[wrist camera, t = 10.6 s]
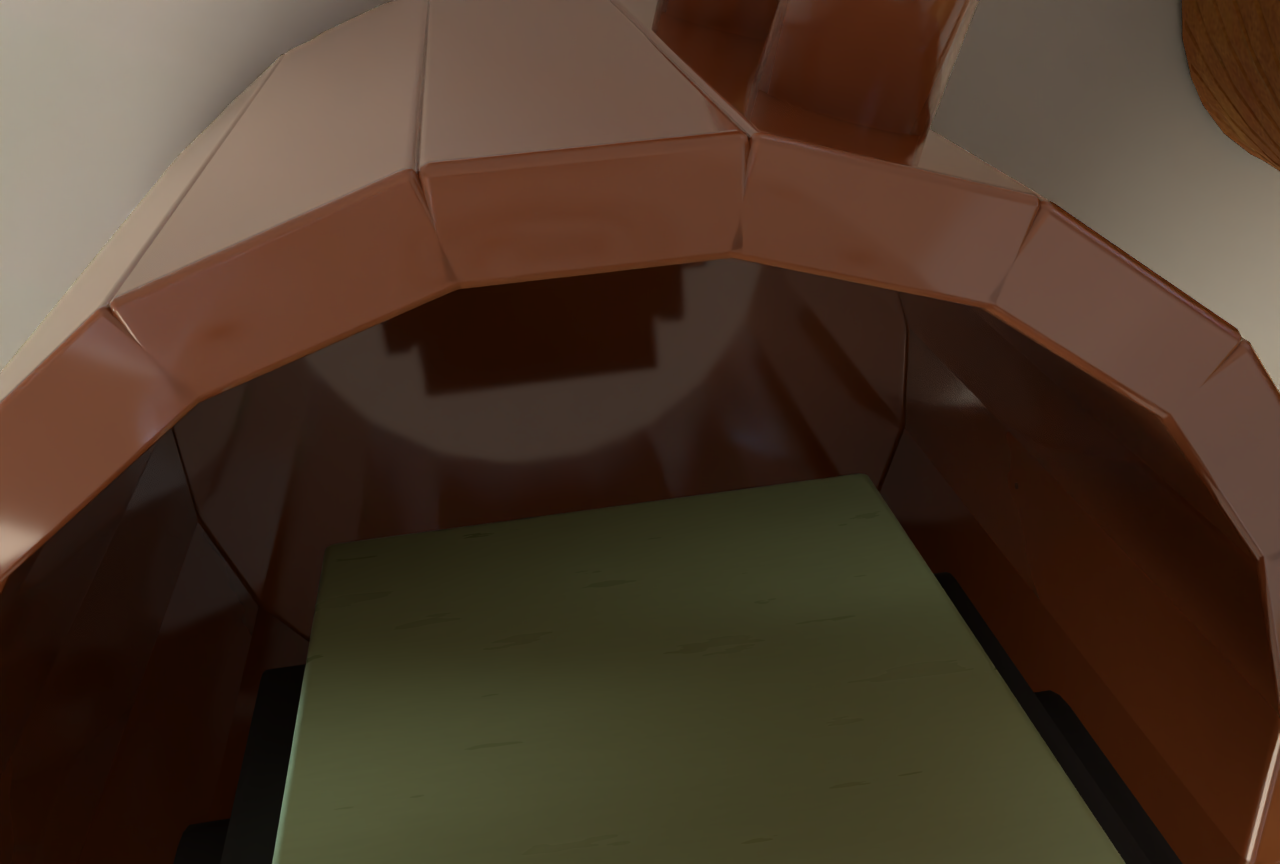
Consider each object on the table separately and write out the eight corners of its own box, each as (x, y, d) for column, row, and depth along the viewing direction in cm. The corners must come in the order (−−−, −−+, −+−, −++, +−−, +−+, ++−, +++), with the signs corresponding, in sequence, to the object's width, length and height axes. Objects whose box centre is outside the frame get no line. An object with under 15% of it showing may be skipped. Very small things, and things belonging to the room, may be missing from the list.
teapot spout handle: (471, 987, 21) (482, 1396, 15) (359, 980, 20) (328, 1400, 15) (887, -313, 12) (1234, -428, 7) (714, -380, 12) (942, -559, 7)
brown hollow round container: (232, 772, 20) (87, 1428, 12) (1, 18, 14) (-605, 269, 6) (922, 665, 22) (1226, 1187, 13) (968, -66, 16) (1563, 48, 7)
